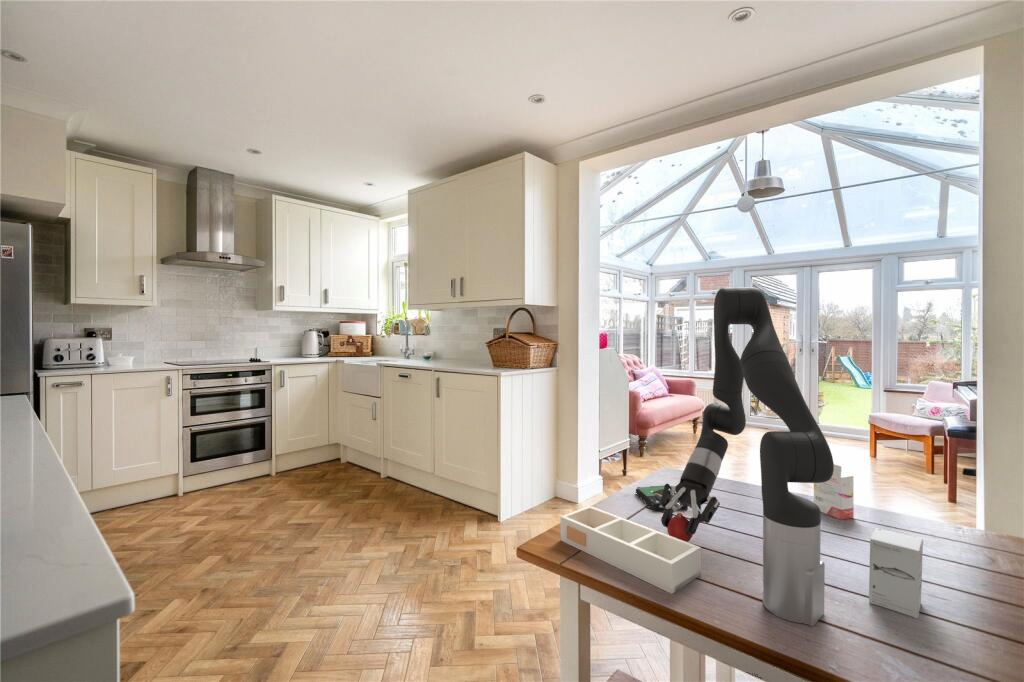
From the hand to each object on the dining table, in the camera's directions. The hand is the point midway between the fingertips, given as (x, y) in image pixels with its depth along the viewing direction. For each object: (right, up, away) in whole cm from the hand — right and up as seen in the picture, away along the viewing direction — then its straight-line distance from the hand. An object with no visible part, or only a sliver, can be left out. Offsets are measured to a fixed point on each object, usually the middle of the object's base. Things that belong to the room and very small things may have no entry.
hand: (676, 529), depth 111 cm
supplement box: (+34, -5, -23) cm, 41 cm away
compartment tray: (-13, -5, -3) cm, 14 cm away
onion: (+1, -4, +1) cm, 5 cm away
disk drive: (+6, -5, +31) cm, 32 cm away
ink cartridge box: (+52, -4, +20) cm, 56 cm away
